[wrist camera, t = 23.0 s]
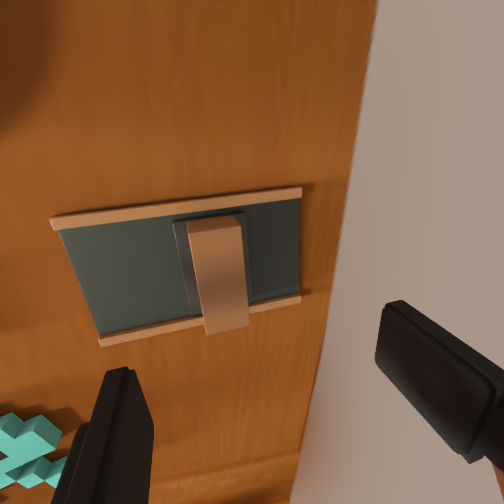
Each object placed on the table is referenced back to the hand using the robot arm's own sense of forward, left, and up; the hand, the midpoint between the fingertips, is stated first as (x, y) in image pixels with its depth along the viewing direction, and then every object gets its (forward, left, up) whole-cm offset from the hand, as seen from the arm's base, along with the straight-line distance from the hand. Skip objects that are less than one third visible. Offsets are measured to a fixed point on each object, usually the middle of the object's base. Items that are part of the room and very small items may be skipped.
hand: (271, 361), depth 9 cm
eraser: (+6, 0, -22) cm, 23 cm away
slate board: (+6, -2, -22) cm, 23 cm away
